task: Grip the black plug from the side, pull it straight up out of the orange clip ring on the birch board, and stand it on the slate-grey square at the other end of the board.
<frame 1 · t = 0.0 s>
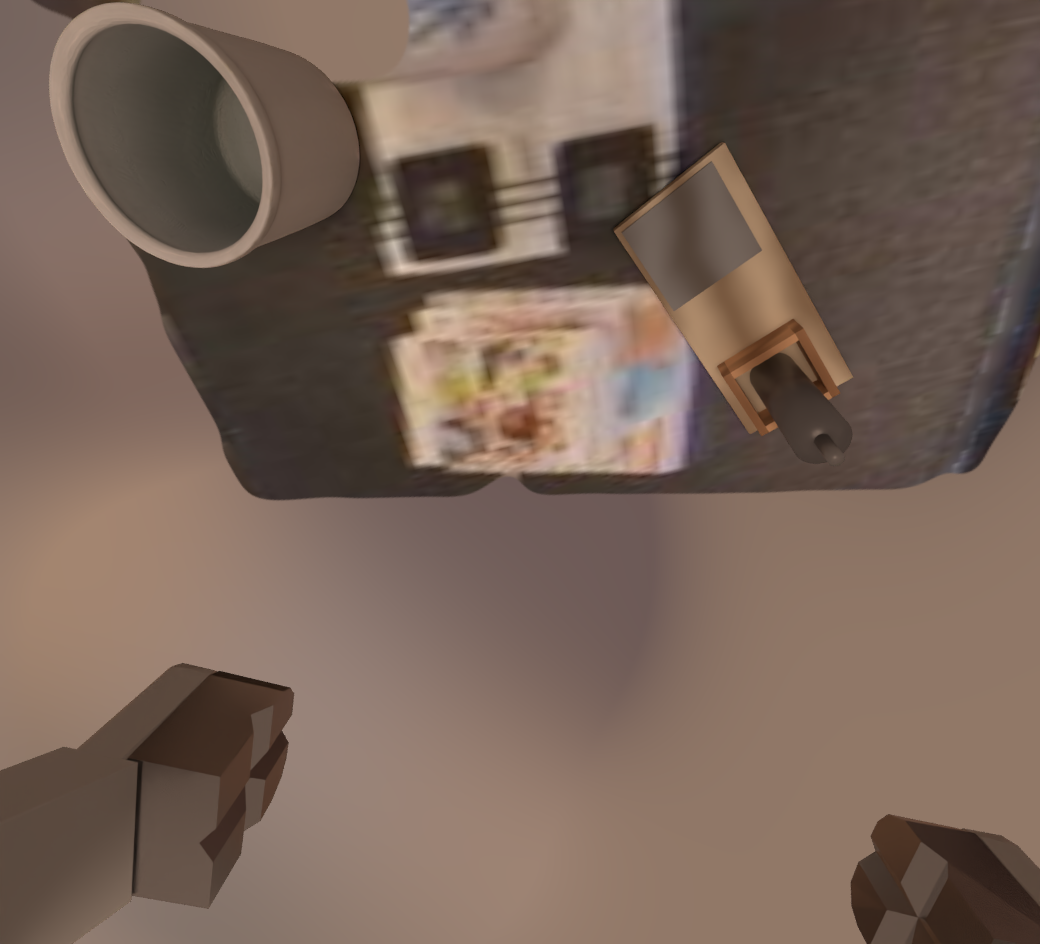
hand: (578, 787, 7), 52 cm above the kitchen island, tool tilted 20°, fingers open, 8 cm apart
utensil holder: (287, 142, 50), on the kitchen island
cable board: (735, 303, 54), on the kitchen island
plug: (772, 373, 55), point 1 cm above the kitchen island, touching cable board
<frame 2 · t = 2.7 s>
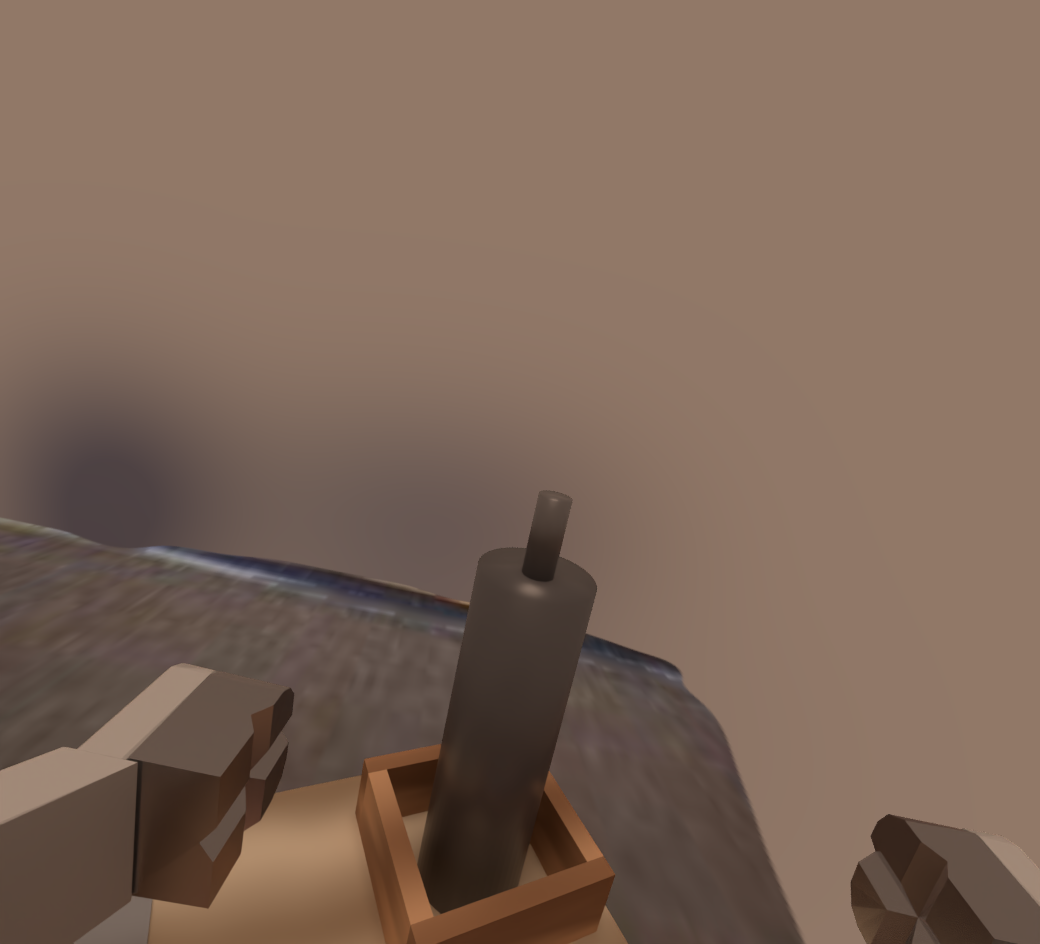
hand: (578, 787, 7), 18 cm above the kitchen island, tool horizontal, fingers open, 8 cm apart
plug: (468, 868, 23), point 2 cm above the kitchen island, touching cable board
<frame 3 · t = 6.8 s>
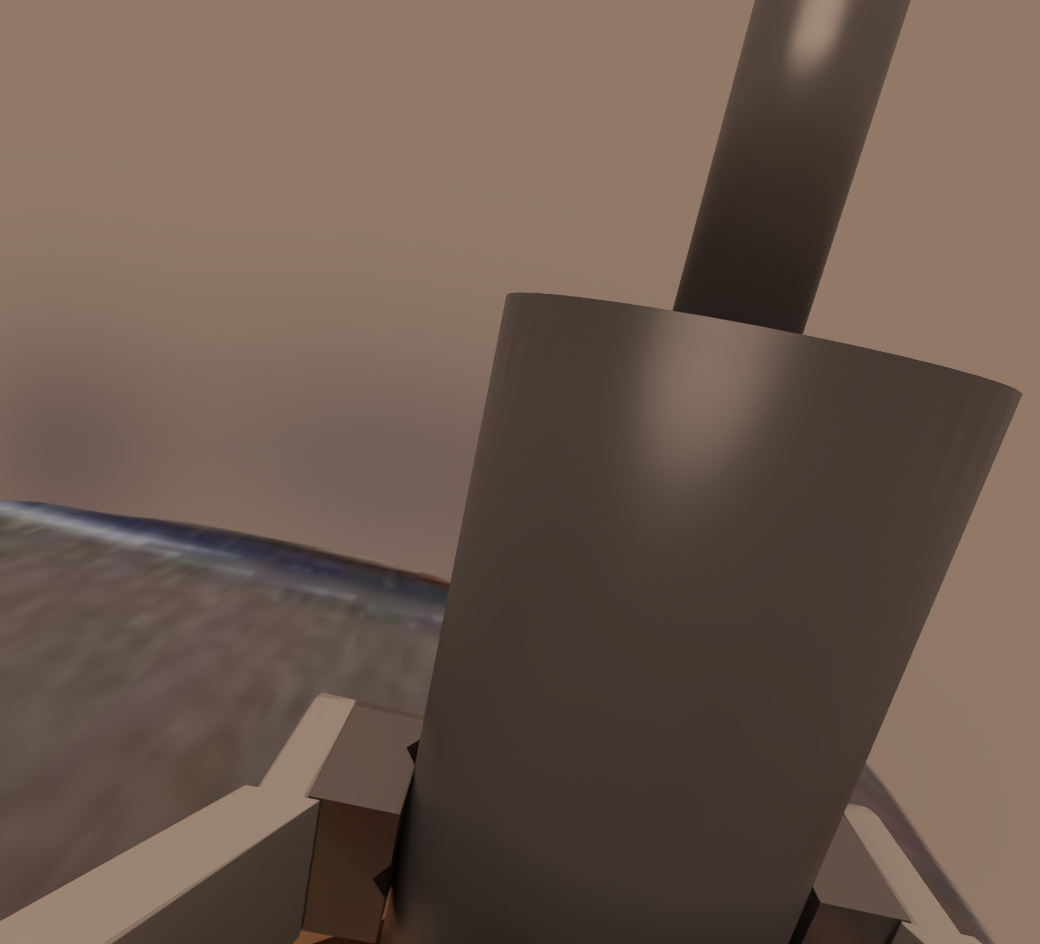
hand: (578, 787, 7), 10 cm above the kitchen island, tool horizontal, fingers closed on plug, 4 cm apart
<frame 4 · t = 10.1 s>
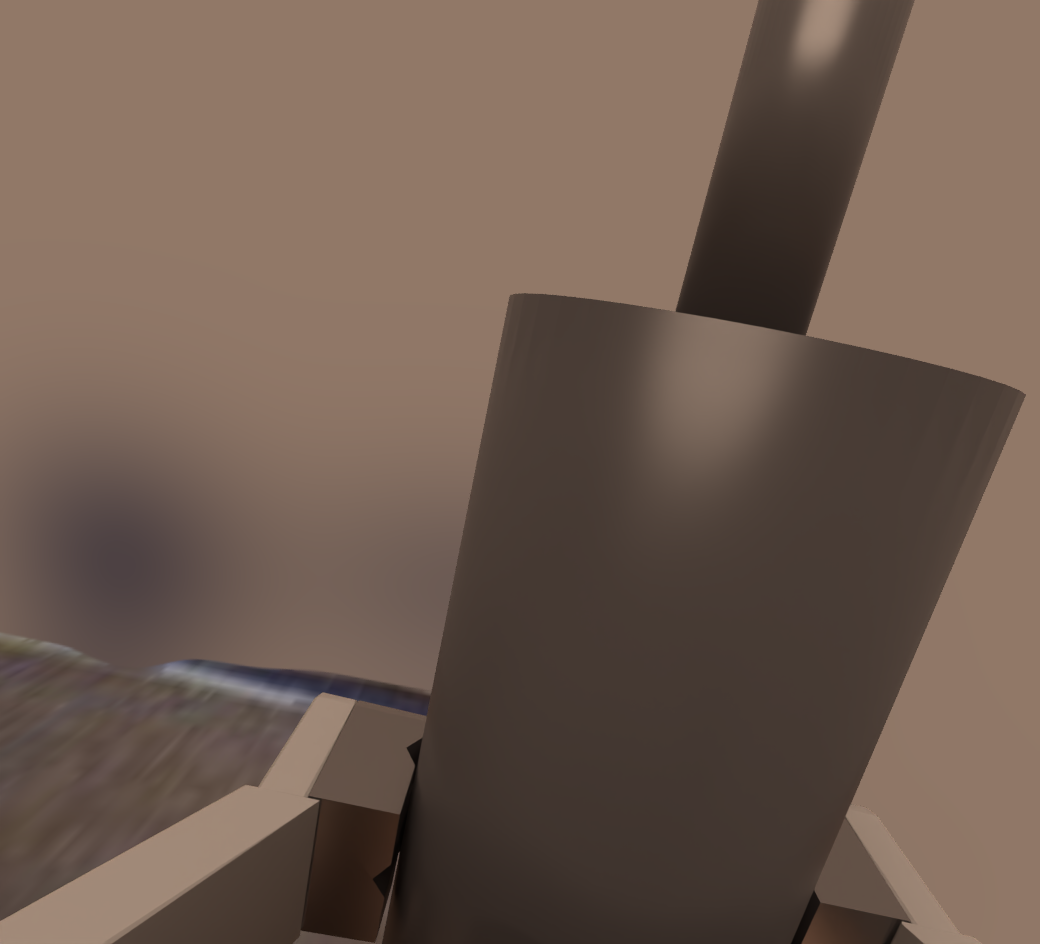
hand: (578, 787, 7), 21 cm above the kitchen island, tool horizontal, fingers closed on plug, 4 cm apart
when the fingers open (11 cm above the kitchen island, at t = 13.5 s): plug drops 1 cm, resting on cable board.
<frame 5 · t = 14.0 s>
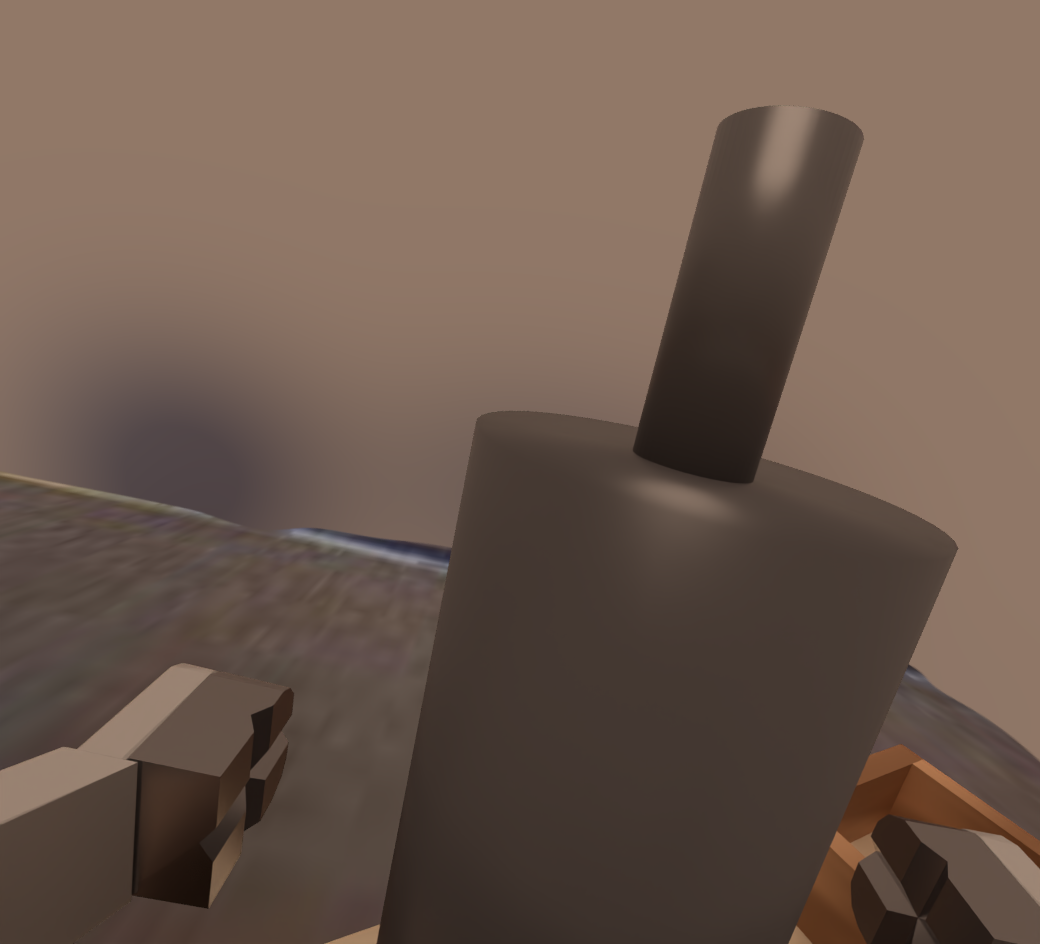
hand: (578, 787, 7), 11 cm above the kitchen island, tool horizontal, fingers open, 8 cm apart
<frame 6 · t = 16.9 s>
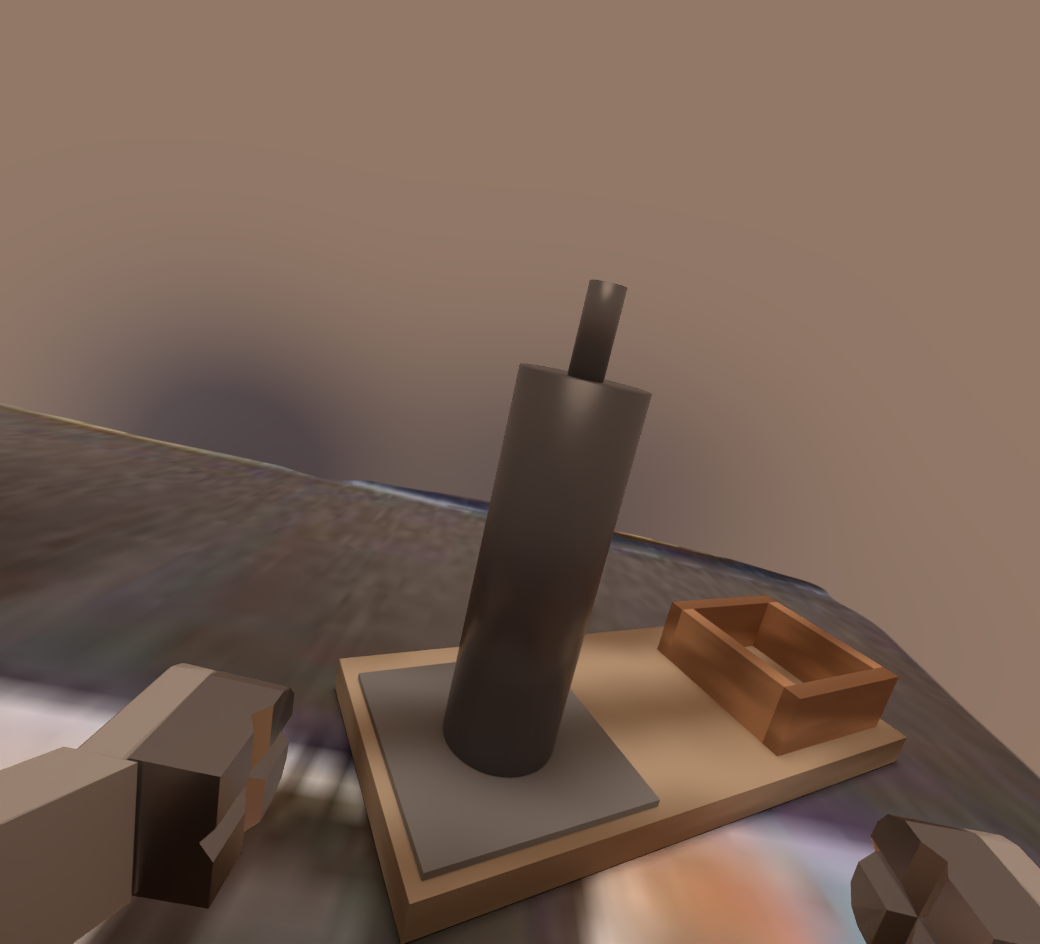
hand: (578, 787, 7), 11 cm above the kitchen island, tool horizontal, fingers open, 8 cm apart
cable board: (634, 727, 26), on the kitchen island
plug: (498, 732, 21), point 2 cm above the kitchen island, touching cable board
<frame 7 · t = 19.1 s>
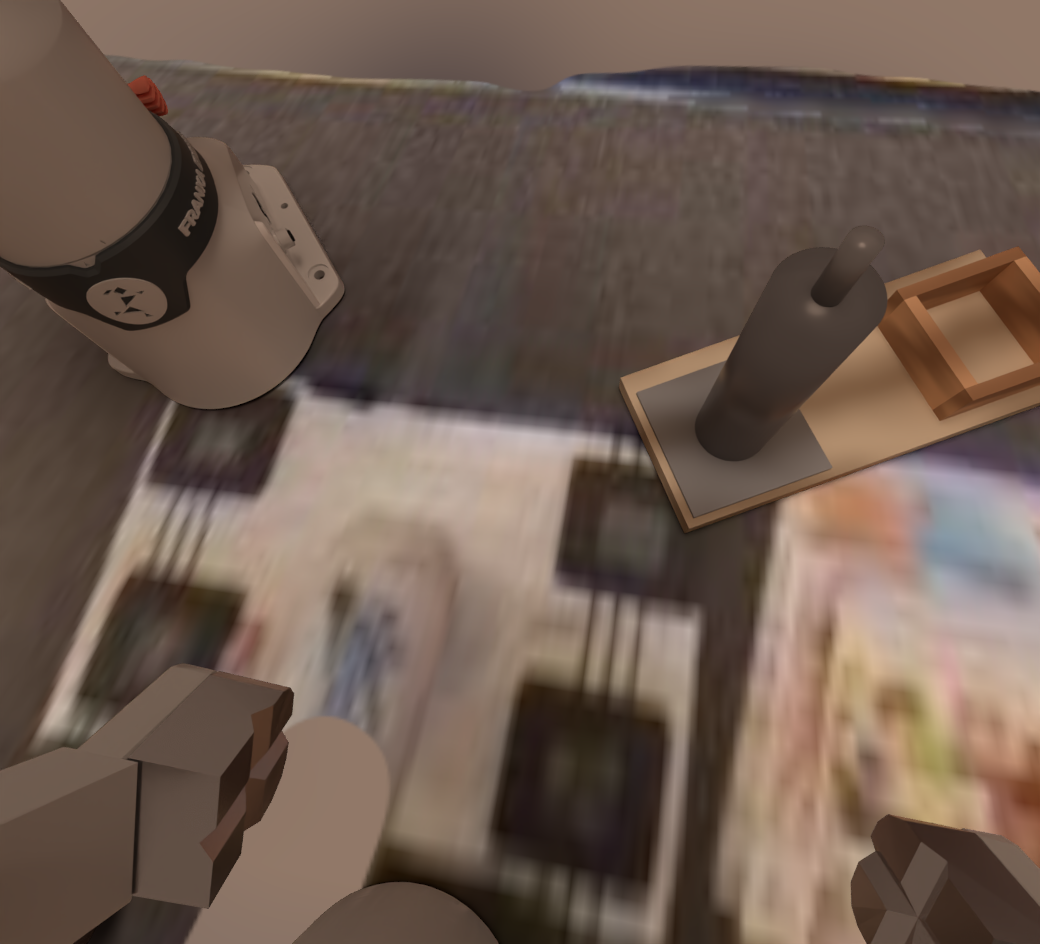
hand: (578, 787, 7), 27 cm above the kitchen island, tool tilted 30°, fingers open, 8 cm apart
cable board: (831, 392, 37), on the kitchen island
plug: (730, 428, 35), point 2 cm above the kitchen island, touching cable board
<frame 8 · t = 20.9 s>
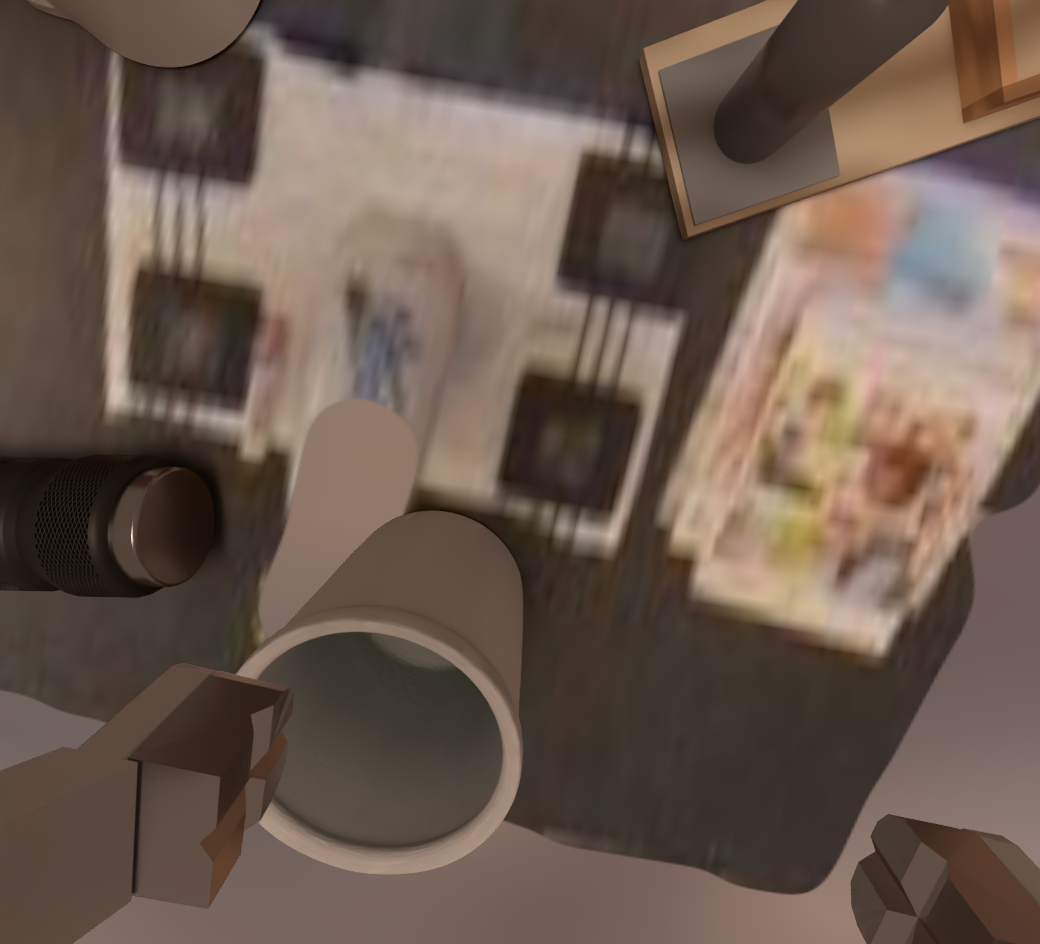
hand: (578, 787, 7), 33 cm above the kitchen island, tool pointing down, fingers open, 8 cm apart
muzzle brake: (54, 498, 43), on the kitchen island
utensil holder: (437, 592, 43), on the kitchen island
cable board: (867, 78, 34), on the kitchen island
plug: (750, 123, 33), point 2 cm above the kitchen island, touching cable board
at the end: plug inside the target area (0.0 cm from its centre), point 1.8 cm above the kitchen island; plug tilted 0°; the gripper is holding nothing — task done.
